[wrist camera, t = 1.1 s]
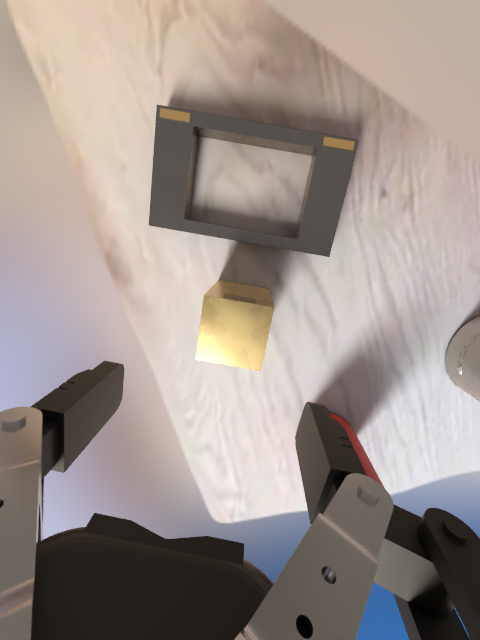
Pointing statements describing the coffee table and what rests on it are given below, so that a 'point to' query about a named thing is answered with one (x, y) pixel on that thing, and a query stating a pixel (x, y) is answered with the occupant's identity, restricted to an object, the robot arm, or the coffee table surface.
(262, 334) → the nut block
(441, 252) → the coffee table surface
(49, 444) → the robot arm
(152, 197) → the grey rectangular frame
